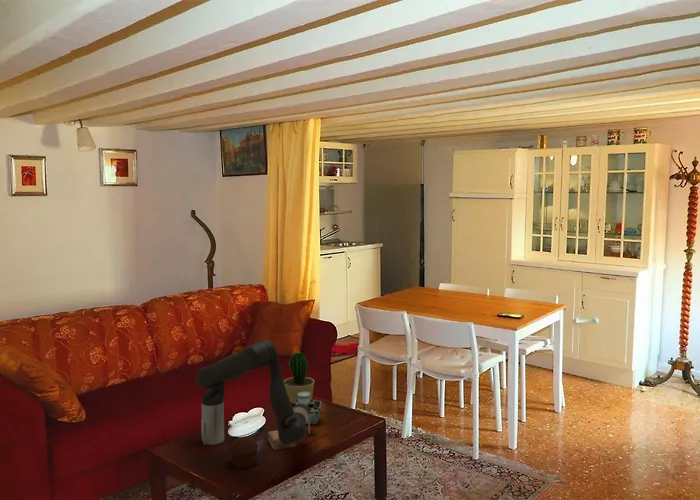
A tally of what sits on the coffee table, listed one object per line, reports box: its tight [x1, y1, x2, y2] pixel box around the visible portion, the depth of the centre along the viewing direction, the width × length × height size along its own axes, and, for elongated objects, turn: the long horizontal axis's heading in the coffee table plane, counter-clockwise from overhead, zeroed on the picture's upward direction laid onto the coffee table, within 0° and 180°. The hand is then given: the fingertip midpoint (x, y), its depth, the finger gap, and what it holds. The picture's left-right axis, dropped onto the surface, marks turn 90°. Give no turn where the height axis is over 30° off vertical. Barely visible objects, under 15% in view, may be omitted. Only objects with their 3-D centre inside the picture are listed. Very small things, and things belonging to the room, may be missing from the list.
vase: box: [298, 392, 310, 423], centre depth 249 cm, size 5×5×12 cm
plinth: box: [267, 429, 298, 451], centre depth 251 cm, size 10×10×4 cm
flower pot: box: [305, 400, 322, 425], centre depth 274 cm, size 9×9×9 cm
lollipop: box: [307, 402, 316, 435], centre depth 261 cm, size 7×7×15 cm
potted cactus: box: [283, 352, 315, 403], centre depth 289 cm, size 15×15×30 cm
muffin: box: [228, 436, 259, 469], centre depth 232 cm, size 12×11×10 cm
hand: (304, 401), depth 252 cm, fingers closed on vase, 4 cm apart
